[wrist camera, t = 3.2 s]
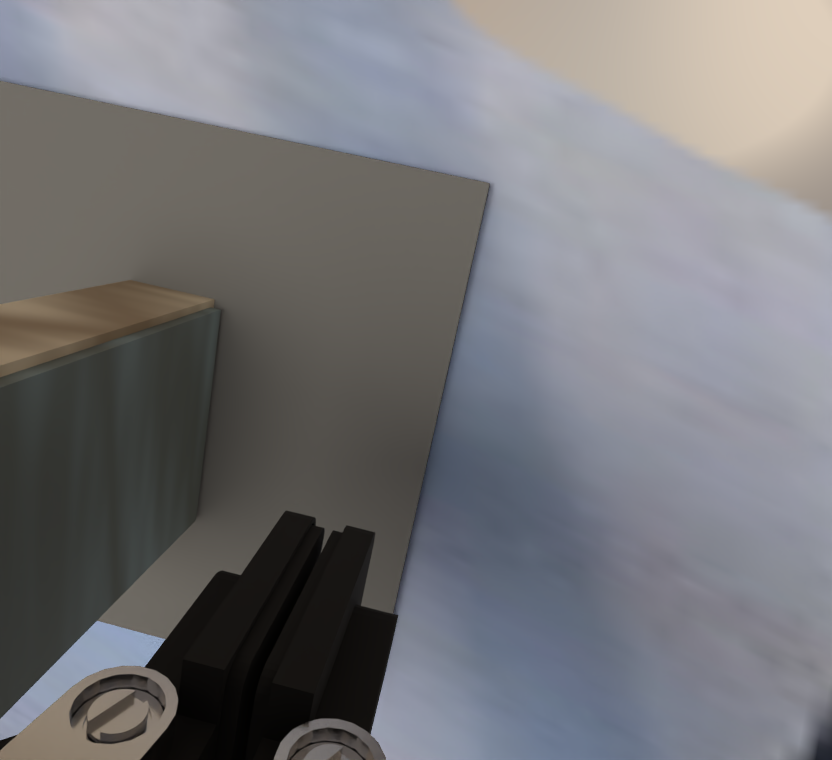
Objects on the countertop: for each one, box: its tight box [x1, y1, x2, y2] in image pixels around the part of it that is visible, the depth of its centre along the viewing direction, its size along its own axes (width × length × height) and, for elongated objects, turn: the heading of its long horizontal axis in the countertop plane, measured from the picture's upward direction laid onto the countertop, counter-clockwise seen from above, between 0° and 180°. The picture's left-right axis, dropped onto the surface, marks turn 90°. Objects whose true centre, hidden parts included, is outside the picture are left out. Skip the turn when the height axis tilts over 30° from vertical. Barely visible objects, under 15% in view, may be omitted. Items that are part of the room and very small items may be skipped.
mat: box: [0, 81, 490, 639], centre depth 19 cm, size 24×16×1 cm, turn 78°
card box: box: [0, 280, 221, 718], centre depth 14 cm, size 3×7×10 cm, turn 168°
